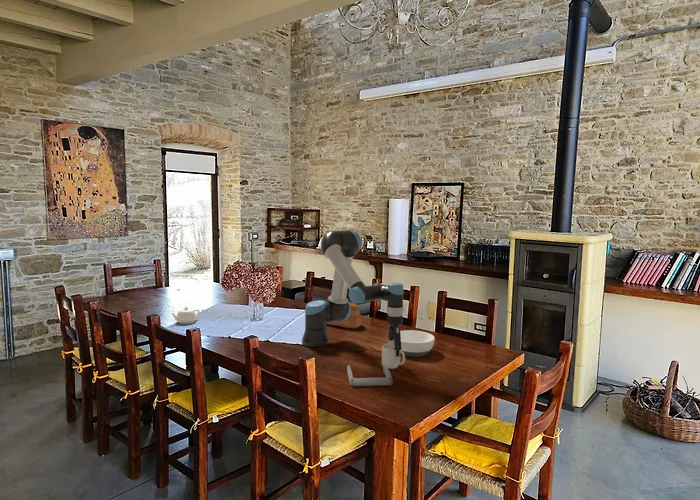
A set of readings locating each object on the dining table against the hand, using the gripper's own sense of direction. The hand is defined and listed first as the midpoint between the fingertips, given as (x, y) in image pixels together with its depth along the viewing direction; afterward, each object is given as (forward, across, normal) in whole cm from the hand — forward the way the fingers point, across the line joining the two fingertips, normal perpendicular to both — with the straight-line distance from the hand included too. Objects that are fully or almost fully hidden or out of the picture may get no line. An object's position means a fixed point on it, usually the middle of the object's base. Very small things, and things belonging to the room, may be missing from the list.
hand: (394, 357), depth 223 cm
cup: (+5, 0, 0) cm, 5 cm away
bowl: (+5, +22, -15) cm, 27 cm away
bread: (+4, +76, +19) cm, 79 cm away
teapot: (+3, +84, +119) cm, 146 cm away
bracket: (+5, -13, +14) cm, 20 cm away
